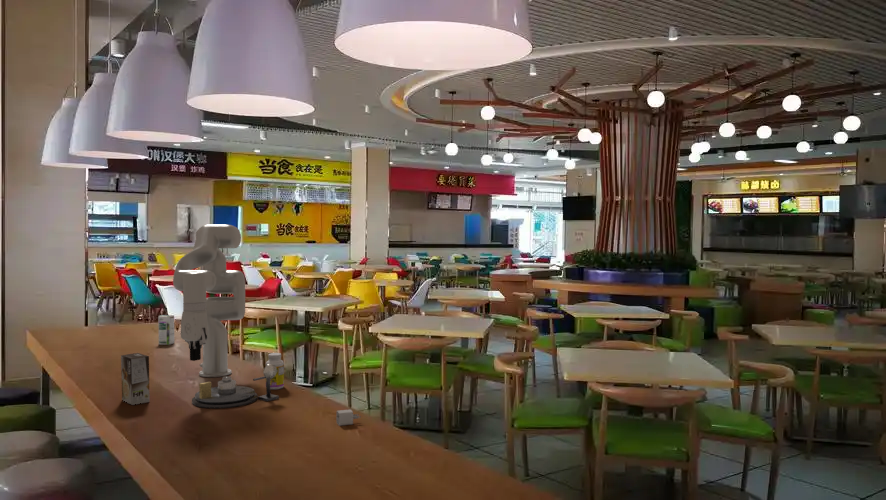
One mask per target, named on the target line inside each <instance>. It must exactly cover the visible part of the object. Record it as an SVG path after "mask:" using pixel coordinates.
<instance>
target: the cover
mask: <svg viewBox="0 0 886 500" xmlns="http://www.w3.org/2000/svg"><path fill="white" fill-rule="evenodd" d="M221 378H222V379H221V380H218V381H217V387H218V394H220V395H230V394H234V393H236V386H237V381H236V380H235V379H232V376H231V375H230V376H229V375H226V376H221Z"/></svg>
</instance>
